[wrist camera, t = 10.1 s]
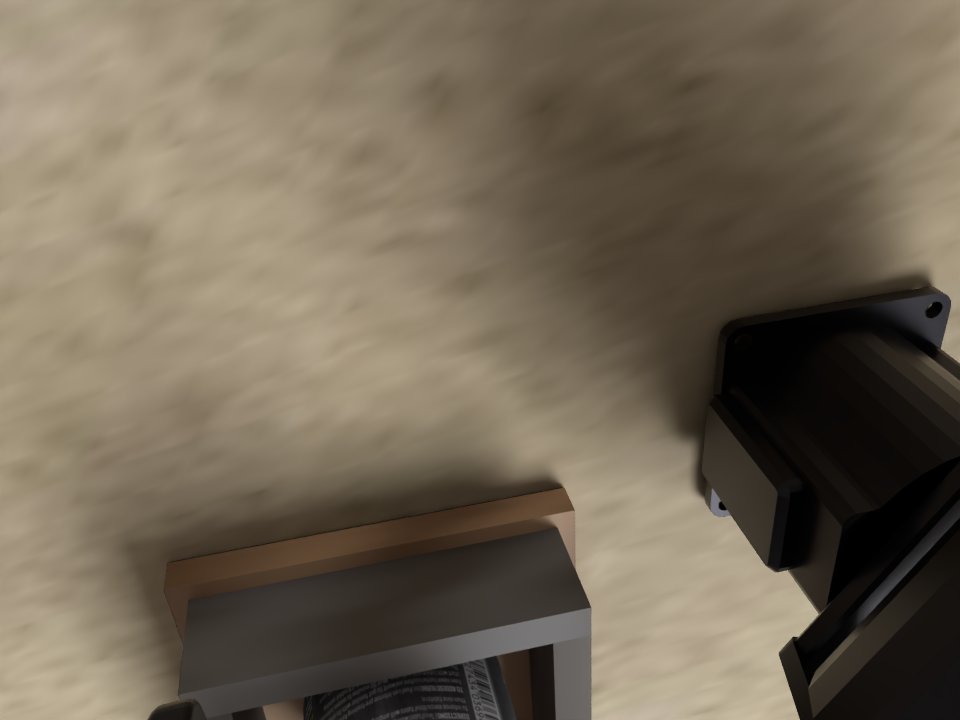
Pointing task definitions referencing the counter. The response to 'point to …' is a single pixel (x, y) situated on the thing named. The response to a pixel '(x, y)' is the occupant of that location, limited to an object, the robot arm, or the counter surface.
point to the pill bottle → (421, 696)
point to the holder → (390, 610)
